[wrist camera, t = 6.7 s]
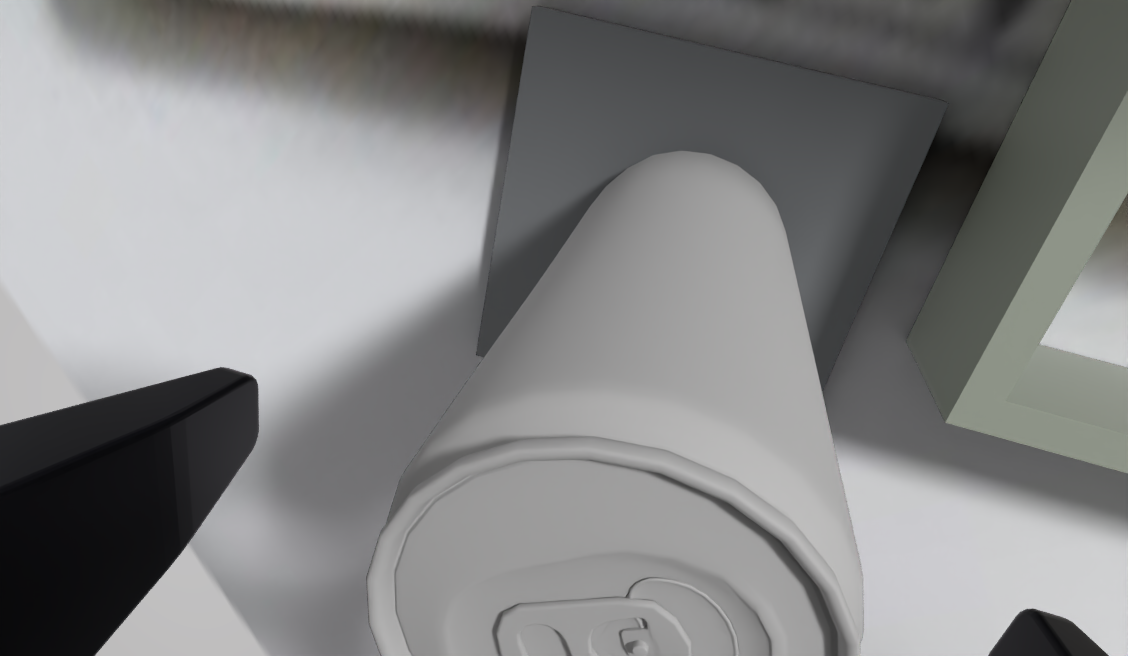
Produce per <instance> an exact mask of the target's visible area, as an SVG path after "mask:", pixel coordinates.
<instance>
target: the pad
mask: <svg viewBox="0 0 1128 656" xmlns="http://www.w3.org/2000/svg"><path fill="white" fill-rule="evenodd" d="M948 104H949V103H947V102H945V101H943V100H940V99H936V98H931V97H927V96H923V95H918V94H914V93H910V92H906V91H901V90H897V89H893V88H888V87H884V86H880V85H876V84H871V83H867V82H863V81H858V80H854V79H850V78H846V77H841V76H837V75H833V74H828V73H824V72H820V71H816V70H811V69H807V68H803V67H798V66H794V65H790V64H786V63H781V62H777V61H773V60H768V59H764V58H760V57H756V56H751V55H747V54H743V53H738V52H734V51H730V50H726V49H721V48H717V47H713V46H708V45H704V44H700V43H696V42H691V41H687V40H683V39H678V38H674V37H670V36H666V35H661V34H657V33H653V32H648V31H644V30H640V29H636V28H631V27H627V26H623V25H618V24H614V23H610V22H606V21H601V20H597V19H593V18H588V17H584V16H580V15H576V14H571V13H567V12H563V11H558V10H554V9H550V8H546V7H541V6H532V11H531V17H530V23H529V30H528V36H527V42H526V48H525V54H524V61H523V67H522V73H521V79H520V85H519V92H518V98H517V104H516V110H515V117H514V123H513V129H512V135H511V141H510V148H509V154H508V160H507V166H506V172H505V179H504V185H503V191H502V197H501V203H500V210H499V216H498V222H497V228H496V234H495V241H494V247H493V253H492V259H491V265H490V272H489V278H488V284H487V290H486V296H485V303H484V309H483V315H482V321H481V328H480V334H479V340H478V346H477V352H476V355H478V356H481V357H485V355H486V354H487V353H488V351H489V350H490V349H491V347H492V346H493V344H494V343H495V342H496V340H497V339H498V337H499V336H500V335H501V333H502V332H503V331H504V329H505V328H506V326H507V325H508V324H509V322H510V321H511V319H512V318H513V317H514V315H515V314H516V313H517V311H518V310H519V308H520V307H521V306H522V304H523V303H524V301H525V300H526V299H527V297H528V296H529V294H530V293H531V292H532V290H533V289H534V287H535V286H536V285H537V283H538V282H539V280H540V279H541V277H542V276H543V275H544V273H545V272H546V270H547V269H548V267H549V266H550V264H551V263H552V262H553V260H554V259H555V257H556V256H557V254H558V253H559V251H560V250H561V248H562V247H563V245H564V244H565V242H566V241H567V240H568V238H569V237H570V235H571V234H572V232H573V231H574V229H575V228H576V226H577V225H578V223H579V222H580V220H581V219H582V218H583V216H584V215H585V213H586V212H587V210H588V209H589V207H590V206H591V205H592V203H593V202H594V201H595V200H596V198H597V197H598V196H599V195H600V193H601V192H602V191H603V190H604V188H605V187H606V186H607V185H608V184H609V183H610V182H612V181H613V180H614V179H615V178H616V177H618V176H619V175H620V174H621V173H622V172H624V171H625V170H626V169H627V168H629V167H631V166H632V165H634V164H636V163H638V162H640V161H642V160H644V159H646V158H648V157H650V156H652V155H656V154H663V153H669V152H675V151H690V152H698V153H706V154H712V155H714V156H716V157H719V158H721V159H724V160H726V161H728V162H731V163H733V164H736V165H738V166H739V167H740V168H742V169H743V170H744V171H746V172H747V173H748V174H749V175H751V176H752V177H753V178H755V179H756V180H757V181H758V182H760V183H761V185H762V186H763V188H764V189H765V190H766V192H767V193H768V195H769V196H770V197H771V199H772V200H773V201H774V203H775V204H776V206H777V209H778V211H779V214H780V217H781V220H782V222H783V225H784V228H785V231H786V235H787V239H788V244H789V248H790V253H791V257H792V261H793V266H794V270H795V275H796V279H797V284H798V288H799V292H800V297H801V301H802V306H803V310H804V315H805V319H806V323H807V328H808V332H809V337H810V341H811V345H812V350H813V354H814V359H815V363H816V368H817V372H818V376H819V381H820V385H821V390H822V391H823V389H824V387H825V384H826V382H827V380H828V378H829V375H830V373H831V371H832V369H833V366H834V364H835V362H836V359H837V357H838V355H839V353H840V350H841V348H842V346H843V343H844V341H845V339H846V337H847V334H848V332H849V330H850V328H851V325H852V323H853V321H854V318H855V316H856V314H857V312H858V309H859V307H860V305H861V302H862V300H863V298H864V296H865V293H866V291H867V289H868V287H869V284H870V282H871V280H872V277H873V275H874V273H875V271H876V268H877V266H878V264H879V261H880V259H881V257H882V255H883V252H884V250H885V248H886V246H887V243H888V241H889V239H890V236H891V234H892V232H893V230H894V227H895V225H896V223H897V220H898V218H899V216H900V214H901V211H902V209H903V207H904V205H905V202H906V200H907V198H908V195H909V193H910V191H911V189H912V186H913V184H914V182H915V180H916V177H917V175H918V173H919V170H920V168H921V166H922V164H923V161H924V159H925V157H926V154H927V152H928V150H929V148H930V145H931V143H932V141H933V139H934V136H935V134H936V132H937V129H938V127H939V125H940V123H941V120H942V118H943V116H944V113H945V111H946V109H947V107H948Z"/></svg>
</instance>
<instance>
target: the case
mask: <svg viewBox="0 0 1128 656" xmlns="http://www.w3.org/2000/svg"><path fill="white" fill-rule="evenodd" d="M1127 193H1128V0H1071V3H1070V5H1069V7H1068V9H1067V11H1066V13H1065V15H1064V17H1063V19H1062V21H1061V23H1060V25H1059V27H1058V29H1057V31H1056V33H1055V35H1054V38H1053V40H1052V42H1051V44H1050V46H1049V48H1048V50H1047V52H1046V54H1045V56H1044V58H1043V60H1042V62H1041V64H1040V66H1039V68H1038V70H1037V72H1036V75H1035V77H1034V79H1033V81H1032V83H1031V85H1030V87H1029V89H1028V91H1027V93H1026V95H1025V97H1024V99H1023V101H1022V103H1021V105H1020V107H1019V110H1018V112H1017V114H1016V116H1015V118H1014V120H1013V122H1012V124H1011V126H1010V128H1009V130H1008V132H1007V134H1006V136H1005V138H1004V140H1003V142H1002V145H1001V147H1000V149H999V151H998V153H997V155H996V157H995V159H994V161H993V163H992V165H991V167H990V169H989V171H988V173H987V175H986V177H985V180H984V182H983V184H982V186H981V188H980V190H979V192H978V194H977V196H976V198H975V200H974V202H973V204H972V206H971V208H970V210H969V212H968V215H967V217H966V219H965V221H964V223H963V225H962V227H961V229H960V231H959V233H958V235H957V237H956V239H955V241H954V243H953V245H952V247H951V250H950V252H949V254H948V256H947V258H946V260H945V262H944V264H943V266H942V268H941V270H940V272H939V274H938V276H937V278H936V280H935V282H934V285H933V287H932V289H931V291H930V293H929V295H928V297H927V299H926V301H925V303H924V305H923V307H922V309H921V311H920V313H919V315H918V317H917V320H916V322H915V324H914V326H913V328H912V330H911V332H910V334H909V336H908V338H907V340H906V343H907V345H908V347H909V349H910V351H911V353H912V355H913V357H914V359H915V361H916V363H917V365H918V367H919V370H920V372H921V374H922V376H923V378H924V380H925V382H926V384H927V386H928V388H929V390H930V392H931V394H932V396H933V399H934V401H935V403H936V405H937V407H938V409H939V411H940V413H941V415H942V417H943V419H944V421H945V423H948V424H952V425H955V426H959V427H962V428H966V429H970V430H973V431H977V432H980V433H984V434H988V435H991V436H995V437H998V438H1002V439H1005V440H1009V441H1013V442H1016V443H1020V444H1023V445H1027V446H1031V447H1034V448H1038V449H1041V450H1045V451H1048V452H1052V453H1056V454H1059V455H1063V456H1066V457H1070V458H1074V459H1077V460H1081V461H1084V462H1088V463H1092V464H1095V465H1099V466H1102V467H1106V468H1109V469H1113V470H1117V471H1120V472H1124V473H1127V474H1128V368H1126V367H1123V366H1119V365H1115V364H1111V363H1107V362H1104V361H1100V360H1096V359H1092V358H1088V357H1085V356H1081V355H1077V354H1073V353H1070V352H1066V351H1062V350H1058V349H1054V348H1051V347H1047V346H1043V345H1039V343H1040V341H1041V340H1042V338H1043V336H1044V334H1045V333H1046V331H1047V329H1048V328H1049V326H1050V324H1051V323H1052V321H1053V319H1054V317H1055V316H1056V314H1057V312H1058V311H1059V309H1060V307H1061V306H1062V304H1063V302H1064V300H1065V299H1066V297H1067V295H1068V294H1069V292H1070V290H1071V289H1072V287H1073V285H1074V283H1075V282H1076V280H1077V278H1078V277H1079V275H1080V273H1081V272H1082V270H1083V268H1084V266H1085V265H1086V263H1087V261H1088V260H1089V258H1090V256H1091V255H1092V253H1093V251H1094V249H1095V248H1096V246H1097V244H1098V243H1099V241H1100V239H1101V238H1102V236H1103V234H1104V232H1105V231H1106V229H1107V227H1108V226H1109V224H1110V222H1111V221H1112V219H1113V217H1114V215H1115V214H1116V212H1117V210H1118V209H1119V207H1120V205H1121V204H1122V202H1123V200H1124V198H1125V197H1126V195H1127Z"/></svg>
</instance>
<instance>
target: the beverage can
mask: <svg viewBox="0 0 1128 656" xmlns="http://www.w3.org/2000/svg"><path fill="white" fill-rule="evenodd" d="M366 582H367V600H368V618H369V625H370V628H371V631H372V634H373V636H374V639H375V642H376V645H377V647H378V650H379V653H380V655H381V656H860V643H861V640H862V638H863V631H864V610H863V574H862V567H861V562H860V558H859V553H858V549H857V544H856V540H855V536H854V531H853V527H852V522H851V518H850V514H849V509H848V505H847V500H846V496H845V491H844V487H843V483H842V478H841V474H840V469H839V465H838V460H837V456H836V452H835V447H834V443H833V438H832V434H831V429H830V425H829V421H828V416H827V412H826V407H825V403H824V399H823V394H822V390H821V385H820V381H819V376H818V372H817V368H816V363H815V359H814V354H813V350H812V345H811V341H810V337H809V332H808V328H807V323H806V319H805V315H804V310H803V306H802V301H801V297H800V292H799V288H798V284H797V279H796V275H795V270H794V266H793V261H792V257H791V253H790V248H789V244H788V239H787V235H786V231H785V228H784V225H783V222H782V220H781V217H780V214H779V211H778V209H777V206H776V204H775V203H774V201H773V200H772V199H771V197H770V196H769V195H768V193H767V192H766V190H765V189H764V188H763V186H762V185H761V183H760V182H758V181H757V180H756V179H755V178H753V177H752V176H751V175H749V174H748V173H747V172H746V171H744V170H743V169H742V168H740V167H739V166H738V165H736V164H733V163H731V162H728V161H726V160H724V159H721V158H719V157H716V156H714V155H712V154H706V153H698V152H690V151H675V152H669V153H663V154H656V155H652V156H650V157H648V158H646V159H644V160H642V161H640V162H638V163H636V164H634V165H632V166H631V167H629V168H627V169H626V170H625V171H624V172H622V173H621V174H620V175H619V176H618V177H616V178H615V179H614V180H613V181H612V182H610V183H609V184H608V185H607V186H606V187H605V188H604V190H603V191H602V192H601V193H600V195H599V196H598V197H597V198H596V200H595V201H594V202H593V203H592V205H591V206H590V207H589V209H588V210H587V212H586V213H585V215H584V216H583V218H582V219H581V220H580V222H579V223H578V225H577V226H576V228H575V229H574V231H573V232H572V234H571V235H570V237H569V238H568V240H567V241H566V242H565V244H564V245H563V247H562V248H561V250H560V251H559V253H558V254H557V256H556V257H555V259H554V260H553V262H552V263H551V264H550V266H549V267H548V269H547V270H546V272H545V273H544V275H543V276H542V277H541V279H540V280H539V282H538V283H537V285H536V286H535V287H534V289H533V290H532V292H531V293H530V294H529V296H528V297H527V299H526V300H525V301H524V303H523V304H522V306H521V307H520V308H519V310H518V311H517V313H516V314H515V315H514V317H513V318H512V319H511V321H510V322H509V324H508V325H507V326H506V328H505V329H504V331H503V332H502V333H501V335H500V336H499V337H498V339H497V340H496V342H495V343H494V344H493V346H492V347H491V349H490V350H489V351H488V353H487V354H486V355H485V357H484V358H483V360H482V361H481V362H480V364H479V365H478V367H477V368H476V369H475V371H474V372H473V374H472V375H471V376H470V378H469V379H468V381H467V382H466V384H465V385H464V386H463V388H462V389H461V391H460V392H459V393H458V395H457V396H456V398H455V399H454V401H453V402H452V403H451V405H450V406H449V408H448V409H447V411H446V412H445V413H444V415H443V416H442V418H441V419H440V421H439V422H438V424H437V425H436V426H435V428H434V429H433V431H432V432H431V434H430V435H429V437H428V438H427V439H426V441H425V442H424V444H423V445H422V447H421V448H420V450H419V451H418V452H417V454H416V455H415V457H414V458H413V460H412V461H411V463H410V464H409V465H408V467H407V468H406V470H405V472H404V473H403V475H402V477H401V479H400V481H399V484H398V487H397V490H396V494H395V497H394V500H393V503H392V506H391V509H390V512H389V516H388V519H387V522H386V525H385V526H384V527H383V529H382V530H381V532H380V535H379V538H378V541H377V545H376V548H375V551H374V554H373V557H372V561H371V564H370V567H369V570H368V573H367V577H366Z"/></svg>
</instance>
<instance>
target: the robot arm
mask: <svg viewBox="0 0 1128 656" xmlns="http://www.w3.org/2000/svg"><path fill="white" fill-rule="evenodd" d="M258 432H259V407H258V384H257V381H256V379H255V378H254V377H253V376H252V375H249V374H246V373H243V372H239V371H236V370H233V369H229V368H224V367H220V368H215V369H212V370H208V371H204V372H200V373H196V374H193V375H189V376H185V377H181V378H178V379H174V380H170V381H166V382H162V383H159V384H155V385H151V386H147V387H143V388H140V389H136V390H132V391H128V392H125V393H121V394H117V395H113V396H109V397H106V398H102V399H98V400H94V401H90V402H87V403H83V404H79V405H75V406H71V407H68V408H64V409H60V410H57V411H53V412H49V413H45V414H42V415H37V416H34V417H30V418H26V419H22V420H18V421H15V422H11V423H7V424H4V425H0V656H95V655H96V653H97V652H98V651H99V650H100V649H101V648H102V646H103V645H104V644H105V643H106V642H107V641H108V639H109V638H110V637H111V636H112V635H113V633H114V632H115V631H116V630H117V629H118V628H119V626H120V625H121V624H122V623H123V622H124V620H125V619H126V618H127V617H128V616H129V614H130V613H131V612H132V611H133V610H134V609H135V608H136V606H137V605H138V604H139V603H140V602H141V600H142V599H143V598H144V597H145V596H146V595H147V593H148V592H149V591H150V589H152V587H153V586H154V585H155V584H156V583H157V581H158V580H159V579H160V578H161V577H162V576H163V575H164V573H165V572H166V571H167V570H168V569H169V567H170V566H171V565H172V563H173V562H174V561H175V560H176V559H177V557H178V556H179V555H180V554H181V552H182V551H183V550H184V548H185V547H186V546H187V544H188V543H189V541H190V540H191V539H192V537H193V536H194V535H195V533H196V532H197V530H198V529H199V527H200V526H201V524H202V523H203V521H204V520H205V519H206V517H207V516H208V514H209V513H210V511H211V510H212V508H213V507H214V505H215V504H216V502H217V501H218V500H219V498H220V497H221V495H222V494H223V492H224V491H225V489H226V488H227V486H228V485H229V483H230V482H231V481H232V479H233V478H234V476H235V475H236V473H237V472H238V470H239V469H240V467H241V466H242V464H243V463H244V462H245V460H246V459H247V457H248V456H249V454H250V453H251V451H252V450H253V448H254V446H255V443H256V441H257V437H258ZM988 656H1109V655H1108V654H1106V653H1105V652H1104V651H1103V650H1102V649H1101V648H1100V647H1099V646H1098V645H1097V644H1096V643H1095V642H1093V641H1092V640H1091V639H1090V638H1089V637H1088V636H1087V635H1086V634H1085V633H1084V632H1083V631H1082V630H1080V629H1079V628H1078V627H1077V626H1076V625H1075V624H1074V623H1073V622H1071V621H1069V620H1068V619H1066V618H1063V617H1060V616H1056V615H1053V614H1050V613H1046V612H1043V611H1040V610H1036V609H1026V610H1023V611H1022V612H1020V613H1019V614H1018V615H1017V616H1016V617H1015V619H1014V620H1013V622H1012V623H1011V624H1010V626H1009V627H1008V628H1007V630H1006V631H1005V633H1004V634H1003V635H1002V637H1001V638H1000V639H999V641H998V642H997V644H996V645H995V646H994V648H993V649H992V650H991V652H990V653H989V655H988Z"/></svg>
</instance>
